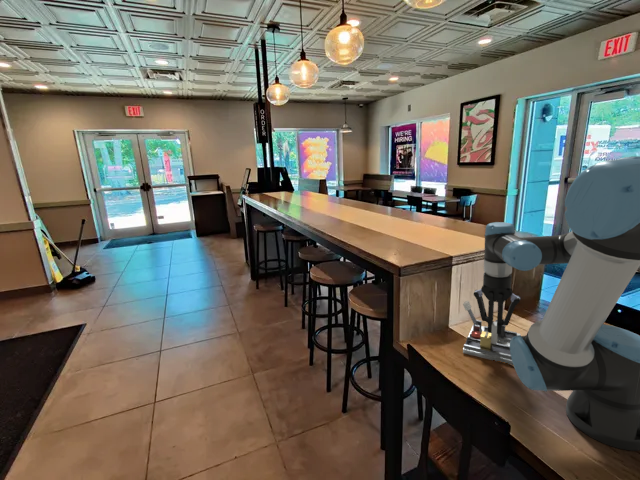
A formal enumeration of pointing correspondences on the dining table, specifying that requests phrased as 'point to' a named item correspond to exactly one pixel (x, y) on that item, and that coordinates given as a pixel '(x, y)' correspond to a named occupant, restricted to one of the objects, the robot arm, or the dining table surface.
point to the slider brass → (485, 340)
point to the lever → (470, 311)
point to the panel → (498, 350)
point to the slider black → (502, 331)
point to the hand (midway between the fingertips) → (494, 341)
